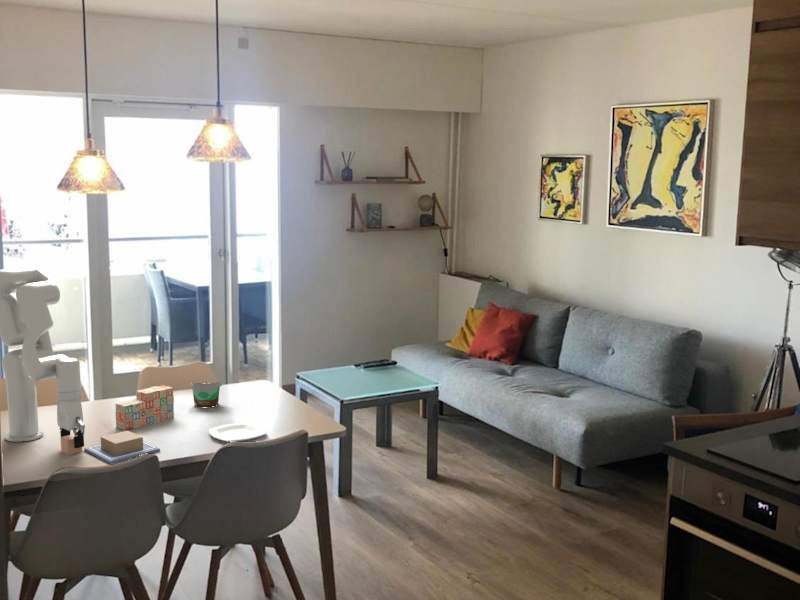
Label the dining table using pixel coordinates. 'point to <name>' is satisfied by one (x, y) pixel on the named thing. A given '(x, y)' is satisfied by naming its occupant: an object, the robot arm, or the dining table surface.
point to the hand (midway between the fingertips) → (72, 444)
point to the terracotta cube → (69, 444)
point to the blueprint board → (120, 447)
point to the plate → (237, 432)
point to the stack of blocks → (146, 408)
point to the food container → (206, 393)
